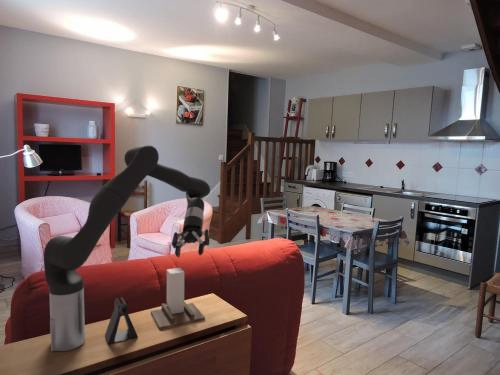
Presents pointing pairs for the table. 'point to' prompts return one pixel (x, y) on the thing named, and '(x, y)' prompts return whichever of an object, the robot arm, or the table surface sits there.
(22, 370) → the table surface
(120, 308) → the phone stand
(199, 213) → the robot arm
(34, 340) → the table surface
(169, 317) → the ridged brown base plate
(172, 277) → the cream block
